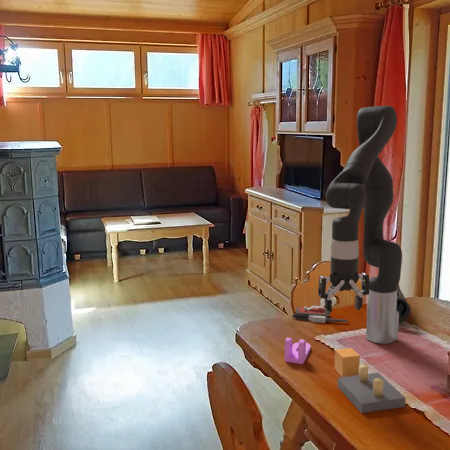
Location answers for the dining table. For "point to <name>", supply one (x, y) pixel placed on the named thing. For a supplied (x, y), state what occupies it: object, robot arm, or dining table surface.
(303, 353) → the bracket
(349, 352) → the orange wooden cube
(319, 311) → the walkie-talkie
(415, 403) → the dining table surface
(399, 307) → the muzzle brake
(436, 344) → the dining table surface
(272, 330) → the dining table surface
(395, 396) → the mounting plate
